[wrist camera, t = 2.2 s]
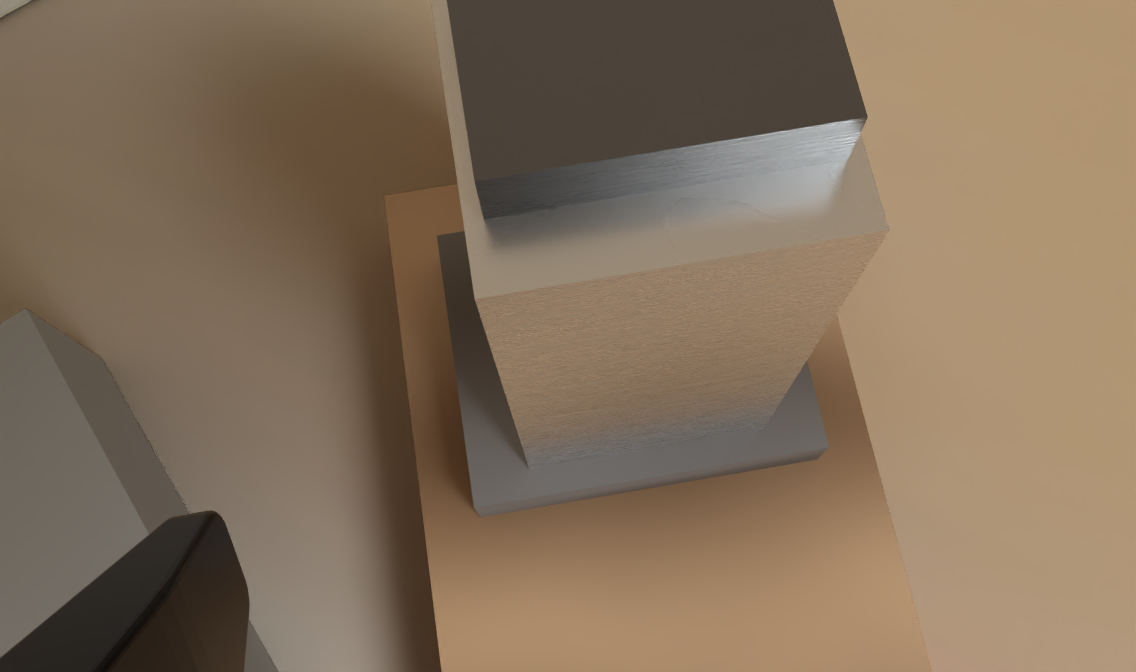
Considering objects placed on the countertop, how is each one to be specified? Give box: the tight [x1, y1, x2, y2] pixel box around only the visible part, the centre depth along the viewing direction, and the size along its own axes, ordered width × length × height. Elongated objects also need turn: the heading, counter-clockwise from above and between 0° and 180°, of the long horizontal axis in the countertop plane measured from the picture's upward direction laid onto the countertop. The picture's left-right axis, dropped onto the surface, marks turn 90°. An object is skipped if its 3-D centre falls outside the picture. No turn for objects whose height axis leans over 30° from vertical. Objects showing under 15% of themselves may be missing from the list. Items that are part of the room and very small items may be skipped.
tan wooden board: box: [384, 184, 932, 672], centre depth 19 cm, size 12×8×3 cm, turn 9°
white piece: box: [431, 0, 889, 469], centre depth 14 cm, size 4×4×9 cm
